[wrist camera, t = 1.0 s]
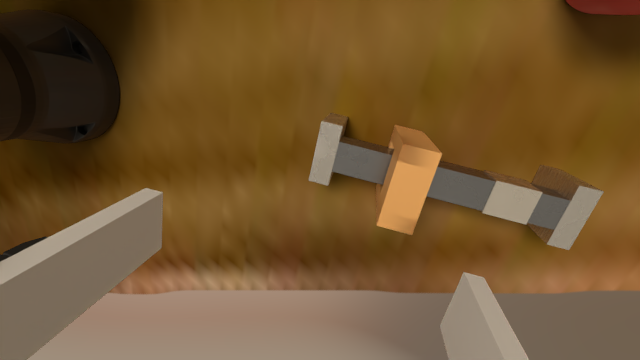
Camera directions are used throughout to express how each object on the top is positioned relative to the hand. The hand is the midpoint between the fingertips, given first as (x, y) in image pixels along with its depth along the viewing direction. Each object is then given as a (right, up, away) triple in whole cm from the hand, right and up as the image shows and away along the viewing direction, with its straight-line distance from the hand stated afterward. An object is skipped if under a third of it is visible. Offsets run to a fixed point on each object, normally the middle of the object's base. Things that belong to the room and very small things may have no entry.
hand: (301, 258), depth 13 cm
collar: (+9, +5, +21) cm, 23 cm away
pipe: (+13, +5, +22) cm, 26 cm away
